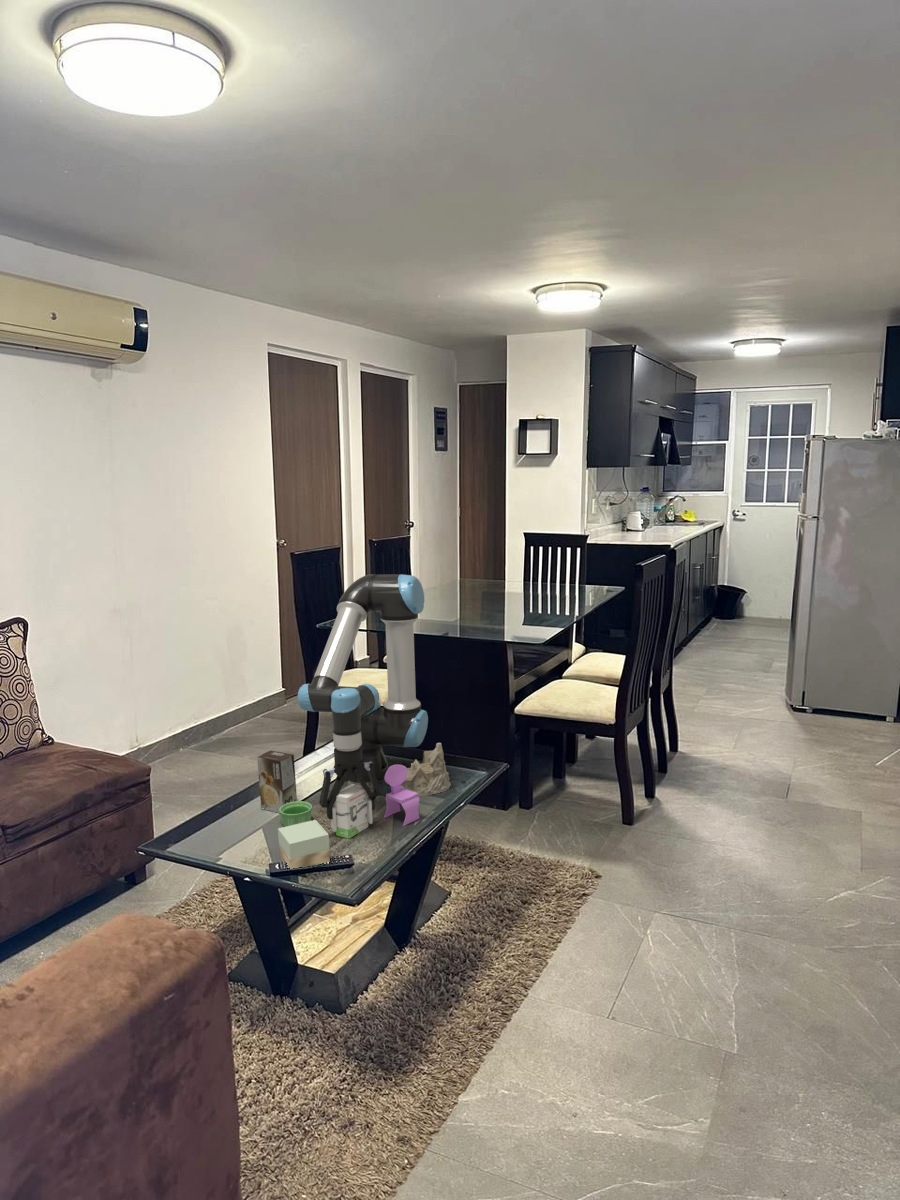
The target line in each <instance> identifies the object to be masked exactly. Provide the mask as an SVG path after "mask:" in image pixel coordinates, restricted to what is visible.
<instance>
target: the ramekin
mask: <svg viewBox="0 0 900 1200" xmlns="http://www.w3.org/2000/svg"><path fill="white" fill-rule="evenodd" d="M312 810H313V805H312V804H311V803H310V802H307V801H302V800H299V801H298V800H297V801H296V802H290V803H287V804H284V805H283V806H281V807H280V809H279V811H280V813H279V814H280V818H281V824H282V825H283V827H287V826H291V825H295V824H299V823H304V822H308V821H312Z"/></svg>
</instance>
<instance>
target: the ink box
mask: <svg viewBox="0 0 900 1200" xmlns="http://www.w3.org/2000/svg"><path fill="white" fill-rule="evenodd" d="M367 797H368V795H367V793H366V791H365V789H364V788H363V787H362V786H361V785H359V784H355V783H351V784H349V785H347V786H346V787H344V788H341V789H340V792H339V794H338V796H337V798H336V801H335V803H334V805H333V806H334V807H335V808H336V825H337V831H336V832H335V835H336V836H337V837H342V838H344V839H351V838H352V837H354V836H355V835H357V834H359V833H361V832H362V831H364V830H366V829H367V828H368V827H369V822H368V810H367Z"/></svg>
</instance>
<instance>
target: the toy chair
mask: <svg viewBox="0 0 900 1200" xmlns="http://www.w3.org/2000/svg"><path fill="white" fill-rule="evenodd" d="M407 768H408V767H406V766H405V765H403V764H393V765H390V766H388V770H387V772H386V774H385V777H383V778H384V782H385V783H386V784H387V785H389V787H390V789H391V792H388V793H386V794H385V796H386V797H385V803H386V810H385V812H384V815H383V816H382V817H383V819H386V818H387V817H390V816H392V815H394V814H397V813H399V812H401V806H402V808H403V810H404V812H405V813H404V814H405V818H404V821H403V823H402V826H403V827H404V826H406V825H410V824H411V823H413V822H415V821H417V820H419V819H421V818H420V813H419V806H420V796H418V793H416V792H413V791H410V790H408V789H405V788H401V786H402V783H403V782H404V781H405V780H406V777H407ZM400 805H401V806H400Z"/></svg>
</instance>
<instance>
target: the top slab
mask: <svg viewBox="0 0 900 1200" xmlns="http://www.w3.org/2000/svg"><path fill="white" fill-rule="evenodd" d="M277 835H278V838H277V839H278V845H279V844H280V845H279V847H280V846H281V847H282V848H283V850H284V851H285V852H286V854H287V855H288V857H289V858H290V859H294V858H298V857H302V856H306V855H310V854H314V853H318V852H322V851H326V850H329V851H330V836H329V835H330V834H329V833H328V832H327V831H326V830H325V829H324V828H323V826H322V825H321V824H320V823H319V822H318V821H317V820H316V819H313V820H312V819H311V821H308V822H304V823H299V824H295V825H291V826H287V827H285V826H282V827H278V828H277Z"/></svg>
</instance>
